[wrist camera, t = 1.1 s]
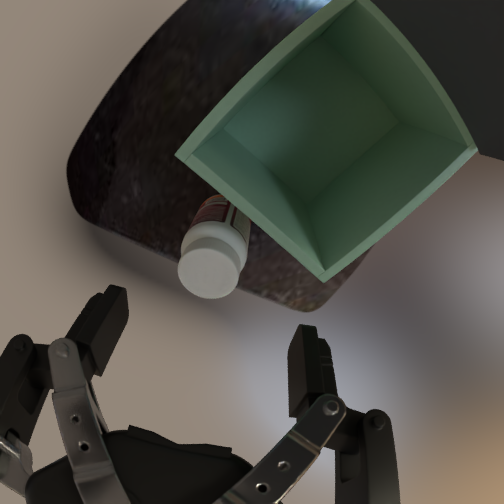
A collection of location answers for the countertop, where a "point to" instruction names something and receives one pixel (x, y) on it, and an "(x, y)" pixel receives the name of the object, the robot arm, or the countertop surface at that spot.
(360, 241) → the mint green storage bin
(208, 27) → the countertop surface
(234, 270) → the pill bottle
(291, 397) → the robot arm
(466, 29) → the pod lid
